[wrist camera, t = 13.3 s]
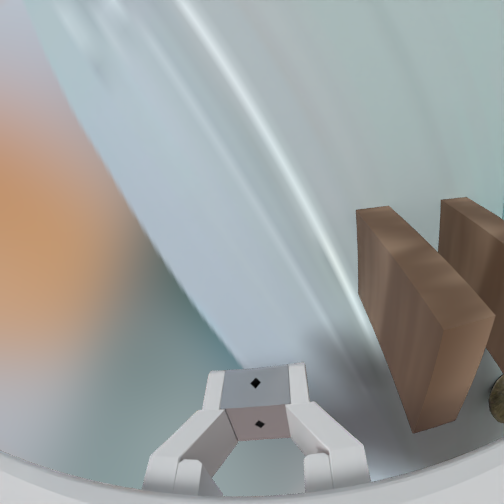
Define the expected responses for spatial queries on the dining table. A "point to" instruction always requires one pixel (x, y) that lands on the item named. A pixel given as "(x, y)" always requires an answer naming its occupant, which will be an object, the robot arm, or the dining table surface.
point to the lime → (497, 400)
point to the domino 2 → (477, 258)
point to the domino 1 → (420, 317)
